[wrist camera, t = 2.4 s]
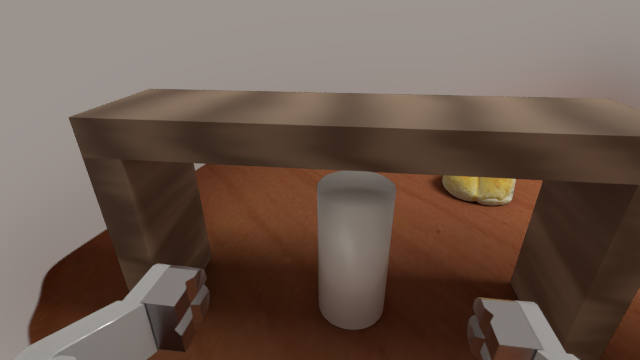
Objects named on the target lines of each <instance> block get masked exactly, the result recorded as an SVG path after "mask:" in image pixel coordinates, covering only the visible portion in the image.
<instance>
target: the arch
mask: <svg viewBox="0 0 640 360" xmlns="http://www.w3.org/2000/svg"><path fill="white" fill-rule="evenodd" d="M69 120H70V122H71V126H72V128H73V131H74V134H75V137H76V140H77V143H78V146H79V148H80V151H81V154H82V157H83V160H84V163H85V166H86V168H87V172H88V174H89V177H90V180H91V183H92V186H93V189H94V192H95V194H96V197H97V200H98V203H99V206H100V209H101V212H102V215H103V218H104V221H105V223H106V226H107V229H108V232H109V235H110V238H111V241H112V244H113V246H114V249H115V252H116V255H117V258H118V261H119V264H120V267H121V270H122V272H123V275H124V278H125V281H126V284H127V287H128V290H129V293H130V291H131V290H132V289H133V288H134V287H135V286H136V285H137V283H138V282H139V281H140V280H141V279H142V278H143V277H144V275H145V274H146V273H147V272H148V271H149V270H150V268H151V267H152V266H153V265H155V264H158V263H159V264H166V265H177V266H185V267H192V268H200V269H203V270H204V269H205V267H206V266H207V264H208V263H209V261H210V260H211V253H210V247H209V242H208V237H207V231H206V226H205V221H204V216H203V210H202V205H201V200H200V195H199V189H198V184H197V179H196V174H195V168H194V163H204V164H223V165H243V166H264V167H284V168H304V169H325V170H345V171H366V172H386V173H406V174H427V175H447V176H468V177H488V178H508V179H529V180H543V183H542V186H541V189H540V192H539V195H538V198H537V201H536V204H535V207H534V210H533V213H532V217H531V220H530V223H529V226H528V229H527V232H526V235H525V238H524V241H523V244H522V247H521V250H520V254H519V257H518V260H517V263H516V266H515V269H514V272H513V275H512V278H511V281H510V284H511V286H512V288H513V290H514V292H515V294H516V296H517V298H518V300H519V301H527V302H534V303H536V304H537V305H538V306H539V308H540V310H541V311H542V313H543V315H544V316H545V318H546V320H547V322H548V323H549V325H550V327H551V328H552V330H553V332H554V333H555V335H556V337H557V338H558V340H559V342H560V343H561V345H562V347H563V348H564V350H565V352H566V354H573V355H574V356H575V357H577V358H578V359H579V360H600V358H601V356H602V354H603V352H604V351H605V349H606V347H607V345H608V343H609V342H610V340H611V338H612V336H613V334H614V333H615V331H616V329H617V327H618V325H619V324H620V322H621V320H622V318H623V316H624V314H625V313H626V311H627V309H628V307H629V305H630V304H631V302H632V300H633V298H634V296H635V295H636V293H637V291H638V289H639V287H640V109H637V108H634V107H632V106H629V105H626V104H623V103H620V102H618V101H615V100H612V99H594V98H548V97H501V96H499V97H498V96H453V95H408V94H407V95H406V94H360V93H317V92H316V93H315V92H269V91H222V90H178V89H148V90H145V91H142V92H139V93H136V94H134V95H131V96H128V97H125V98H123V99H119V100H117V101H114V102H111V103H108V104H105V105H103V106H100V107H97V108H94V109H91V110H88V111H85V112H83V113H79V114H77V115H74V116H71V117H69Z"/></svg>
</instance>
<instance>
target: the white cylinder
mask: <svg viewBox="0 0 640 360" xmlns="http://www.w3.org/2000/svg"><path fill="white" fill-rule="evenodd" d="M395 195H396V187H395V185H394V183H393V182H392V181H391V180H389V179H388V178H386V177H384V176H382V175H380V174H377V173H373V172H366V171H338V172H334V173H331V174H329V175H326V176H325V177H323V178H322V179H321V180H320V181H319V182H318V185H317V204H318V292H319V308H320V311H321V313H322V315H323V316H324V317H325V319H326V320H328V321H329V322H330V323H331V324H333V325H335V326H337V327H340V328H343V329H349V330H358V329H364V328H367V327H369V326H371V325H373V324H374V323H375V322H377V321H378V320H379V318H380V317H381V315H382V313H383V307H384V298H385V289H386V279H387V270H388V261H389V251H390V242H391V232H392V223H393V214H394V204H395Z"/></svg>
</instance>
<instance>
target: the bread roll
mask: <svg viewBox="0 0 640 360" xmlns="http://www.w3.org/2000/svg"><path fill="white" fill-rule="evenodd" d="M515 182H516V180H515V179H508V178H488V177H468V176H447V175H443V179H442V183H443V186H444V188H445V189H446V190H447V191H448V192H449V193H450V194H452V195H453V196H455V197H457V198H459V199H462V200H465V201H470V202H473V201H477V202H478V203H480V204H482V205H492V206H495V205H504V204H507V203H509V202H510V201H511V199H512V197H513V193H514V192H513V190H514V185H515Z"/></svg>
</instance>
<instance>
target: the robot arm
mask: <svg viewBox="0 0 640 360" xmlns="http://www.w3.org/2000/svg"><path fill="white" fill-rule="evenodd" d="M206 279H207V277H206V273H205V270H203V269H200V268H192V267H185V266H177V265H166V264H159V263H158V264H155V265H153V266H152V267H151V268H150V270H149V271H148V272H147V273H146V274H145V275H144V277H143V278H142V279H141V280H140V281H139V282H138V283H137V285H136V286H135V287H134V288H133V289H132V290H131V291H130V293H129V294H128V295H127V296H126V297H125V298H124V299H123V301H116V302H114V303H112V304H110V305H108V306H106V307H104V308H102V309H100V310H98V311H96V312H94V313H92V314H90V315H88V316H86V317H84V318H83V319H81V320H79V321H77V322H75V323H73V324H71V325H69V326H67V327H65V328H63V329H61V330H59V331H57V332H55V333H53V334H51V335H49V336H47V337H45V338H43V339H42V340H40V341H38V342H36V343H34V344H32V345H30V346H28V347H26V348H24V349H23V350H22V351H21V352H20V353H19V354H18V355H17V356H16V357H15V358H14V359H13V360H147V359H148V358H149V357H151V356H152V355H153V354H154V353H156V352H157V351H158V350H157V349H161V350H171V351H181V352H186V350H187V348H188V346H189V344H190V343H191V341H192V339H193V337H194V335H195V334H196V330H195V325H197V324H198V323H200V322H201V321H203V319H204V317H205V315H206V313H207V310H208V306H209V301H210V294H209V289H208V288H207V287H206V286H205V285H204V283H205V281H206ZM473 309H474V312H475V315H473V316H472V317H470V318H469V322H468V326H467V340H468V345H469V349H470V352H471V354H472V355H473V356H474V357H475V358H476V359H477V360H579V359H578V358H577V357H575V356H574V355H573V354H566V352H565V350H564V348H563V347H562V345H561V343H560V342H559V340H558V338H557V337H556V335H555V333H554V332H553V330H552V328H551V327H550V325H549V323H548V322H547V320H546V318H545V316H544V315H543V313H542V311H541V310H540V308H539V306H538V305H537V304H536V303H534V302H527V301H516V300H515V301H513V300H503V299H493V298H482V297H477V298H476V299H475V301H474V304H473Z"/></svg>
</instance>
